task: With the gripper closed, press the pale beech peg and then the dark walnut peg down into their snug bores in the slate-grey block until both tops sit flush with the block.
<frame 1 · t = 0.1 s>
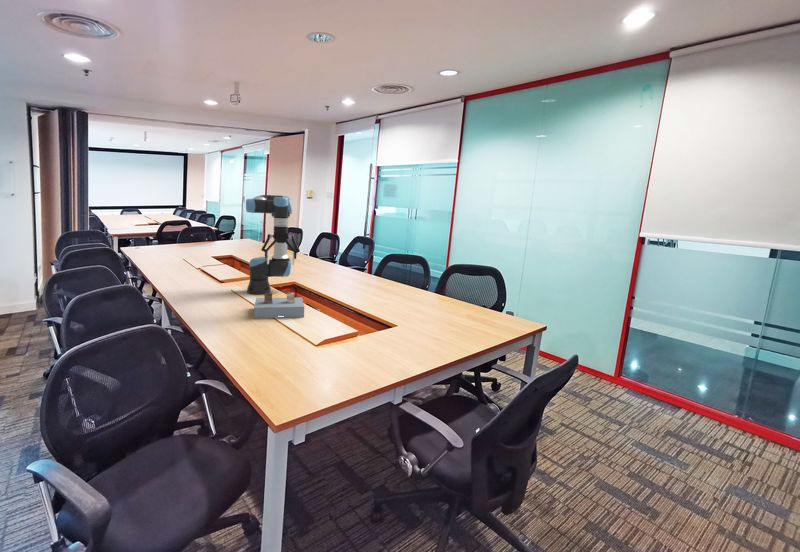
hand: (280, 264, 220), 28 cm above the table, fingers open, 13 cm apart
socket block: (279, 312, 225), on the table
pale peg: (290, 298, 225), point 8 cm above the table, slide at 5.0 cm
dark peg: (268, 299, 222), point 8 cm above the table, slide at 5.0 cm
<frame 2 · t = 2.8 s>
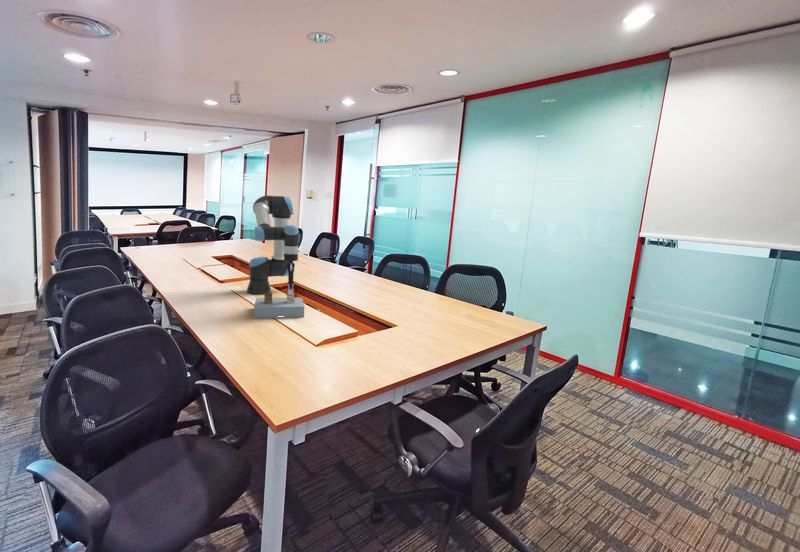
hand: (290, 294, 225), 11 cm above the table, fingers closed
pale peg: (290, 299, 225), point 7 cm above the table, slide at 4.3 cm, touching gripper
everything else where it was.
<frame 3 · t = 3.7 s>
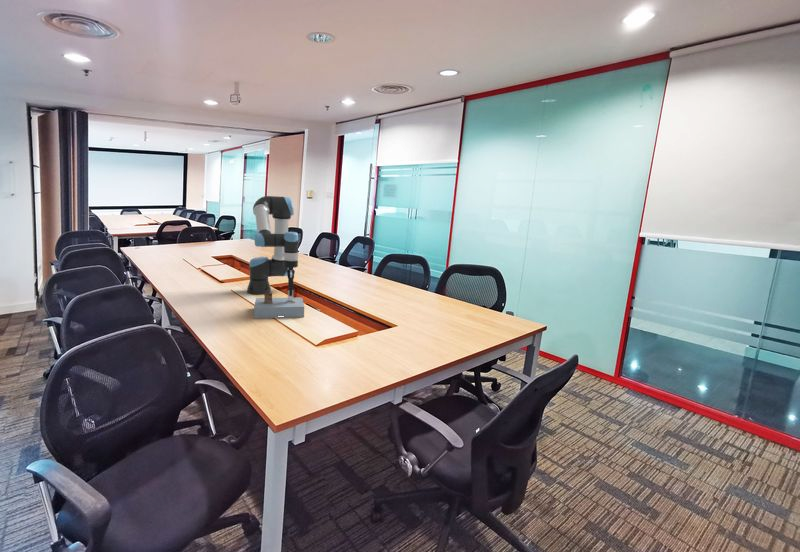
hand: (290, 300, 225), 7 cm above the table, fingers closed
pale peg: (290, 306, 226), point 4 cm above the table, slide at 0.5 cm, touching gripper
everything else where it was.
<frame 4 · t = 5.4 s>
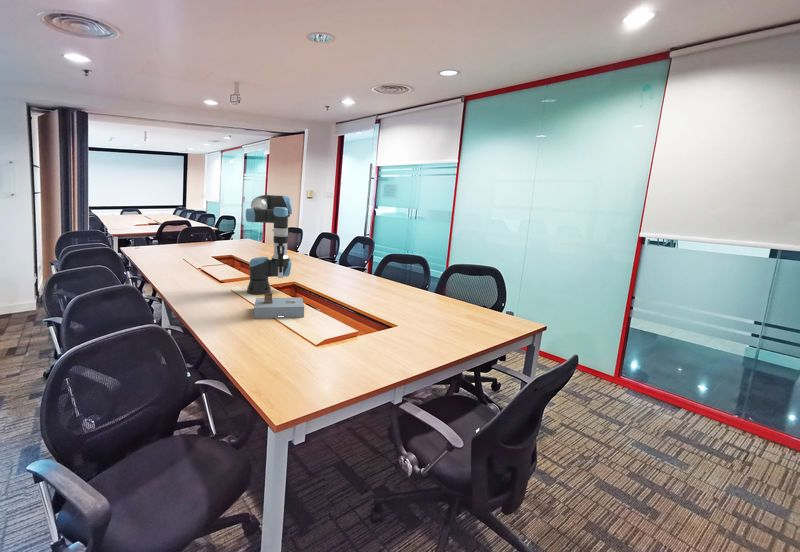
hand: (280, 277, 221), 20 cm above the table, fingers closed
pale peg: (290, 306, 226), point 4 cm above the table, slide at 0.5 cm
everything else where it was.
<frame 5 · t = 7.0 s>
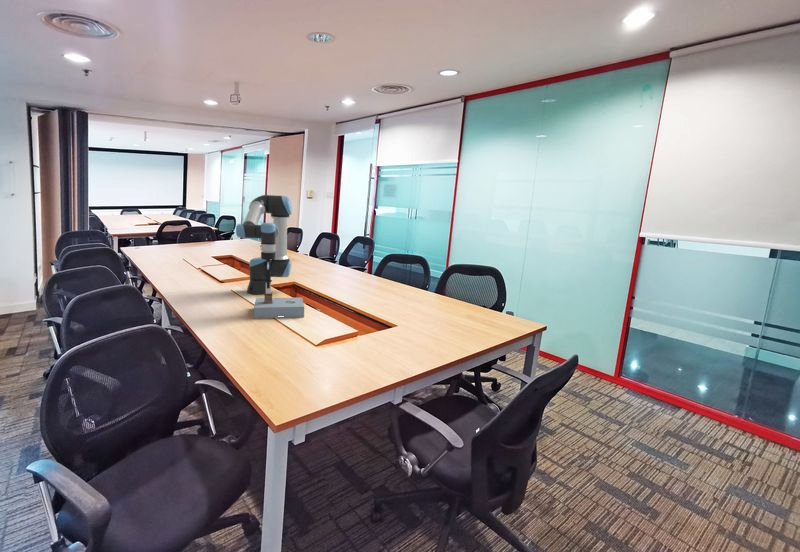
hand: (268, 293, 221), 11 cm above the table, fingers closed
dark peg: (268, 299, 222), point 8 cm above the table, slide at 4.9 cm, touching gripper
everything else where it was.
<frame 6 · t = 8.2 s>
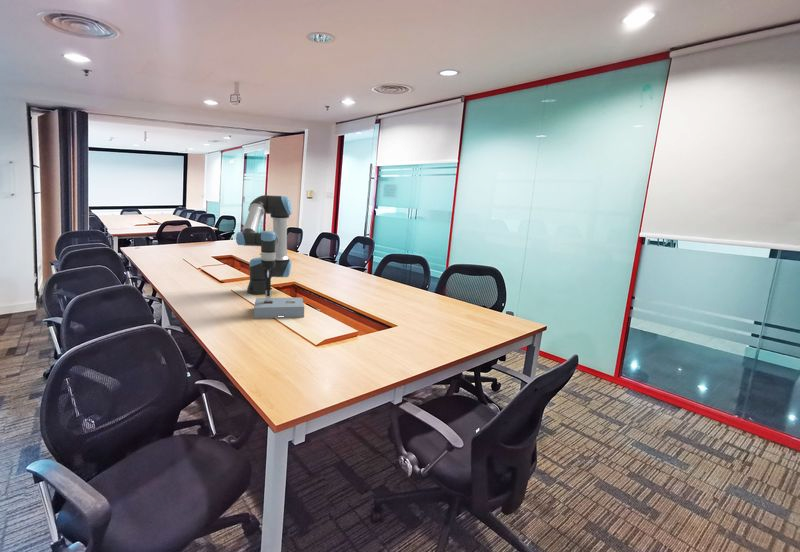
hand: (268, 301, 222), 7 cm above the table, fingers closed
dark peg: (268, 306, 223), point 4 cm above the table, slide at 0.5 cm, touching gripper
everything else where it was.
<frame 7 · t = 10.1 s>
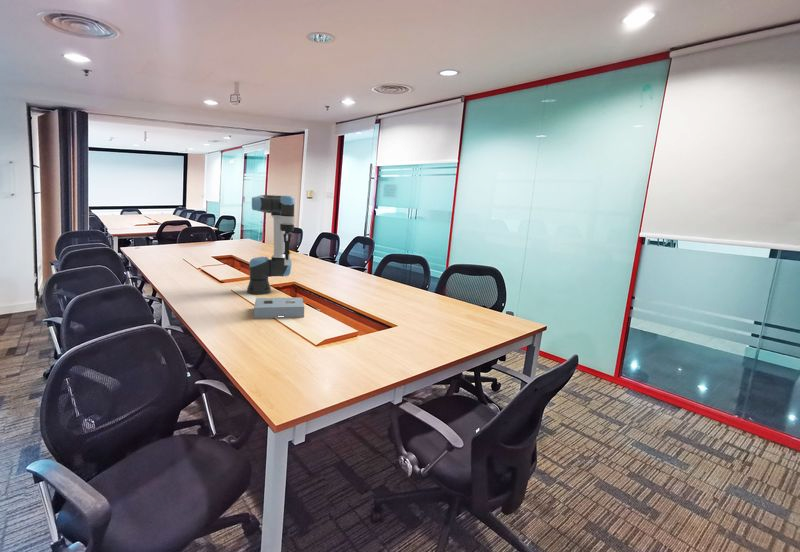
hand: (286, 265, 227), 26 cm above the table, fingers closed
dark peg: (268, 306, 223), point 4 cm above the table, slide at 0.5 cm
everything else where it was.
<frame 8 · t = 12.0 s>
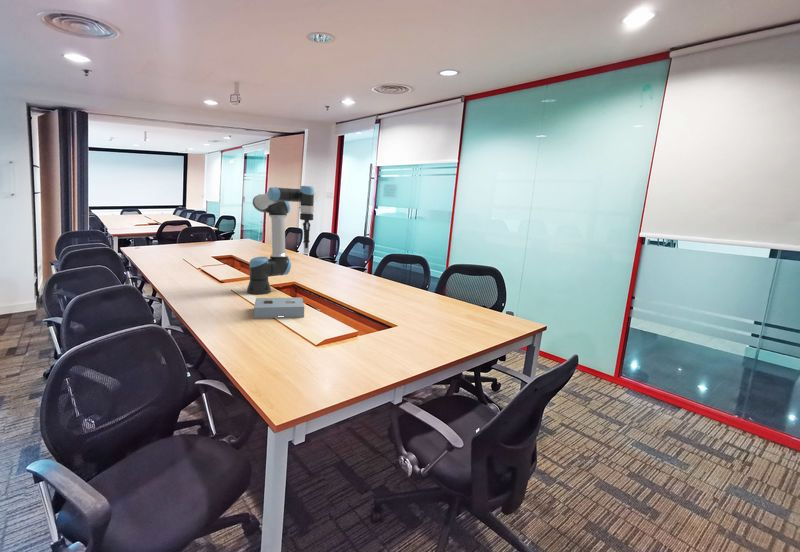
hand: (306, 253, 234), 32 cm above the table, fingers closed
nothing on the table moved.
at the end: pale peg slide at 0.5 cm; dark peg slide at 0.5 cm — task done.
